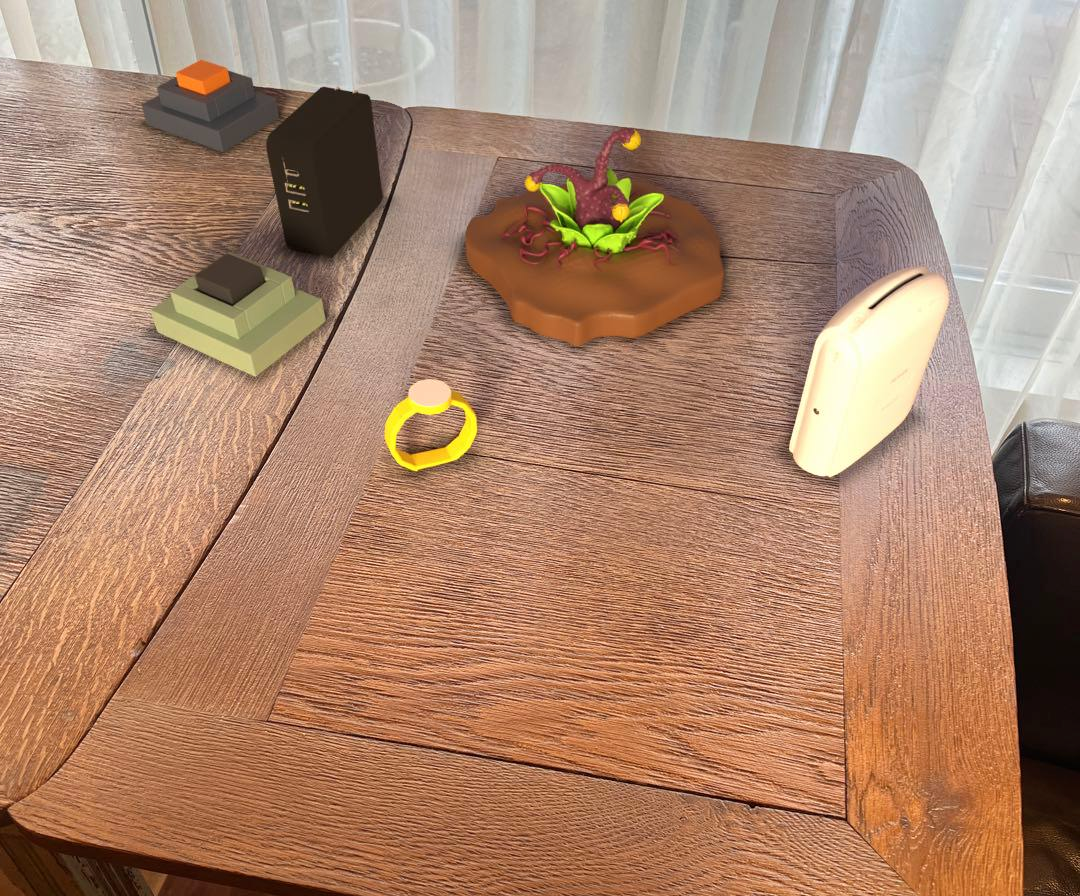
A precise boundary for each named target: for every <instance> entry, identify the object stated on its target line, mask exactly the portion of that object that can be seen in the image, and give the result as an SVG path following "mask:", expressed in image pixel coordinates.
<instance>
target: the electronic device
mask: <svg viewBox="0 0 1080 896" xmlns="http://www.w3.org/2000/svg"><path fill="white" fill-rule="evenodd" d="M373 113H374V112H373V106H372V100H371V96H370V95H369V94H367V93H362V92H359V90H358V89H354V90H353V91H351V90H345V89H341V87H340V86H336V87H335V88H333V87H330V86H329V87H328V86H321V87H320V88H318V89H317V90H316V91H315V92H313V94H311V95H310V96H309V97H308V98H307V99H306V100H305V101H304V102H303V103H301V104H300V105H299V106H298V107H297V108H296V109H295V110H294V111H293V112H292V113H290V115H288V116H287V117H286V118H285V119H284V120H283V121H282V122H280V123H279V124H278V125H277V126H276V127H275V128H274V129H273V130H272V131H270V132H269V134H268V136H267V137H266V142H265V146H266V153H267V159H268V164H269V169H270V174H271V179H272V183H273V188H274V193H275V198H276V202H277V208H278V212H279V218H280V223H281V226H282V231H283V236H284V237H283V238H284V242H285V244H286V247H287V248H289V249H292V250H295V251H296V250H297V251H301V252H305V253H310V254H315V255H320V256H324V257H328V258H334V257H335V256H336V255H337V254H338V253H339V252H340V251H341V249H342V248H343V247H344V245H346V244H347V243H348V241H350V239H351V238H353V236H354V235H355V233H357V231H358V230H359V229H360V228H361V227H362V226H363V224H364V223H365V222H366V221H367V220H368V219H369V218H370V216H371V215H372V214H373V213H374V212H375V211H376V210H377V209H378V207H379V206H380V205H381V203H382V200H383V187H382V179H381V172H380V163H379V162H380V161H379V155H378V147H377V139H376V131H375V130H376V129H375V123H374V121H375V120H374V114H373Z"/></svg>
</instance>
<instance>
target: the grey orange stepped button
mask: <svg viewBox="0 0 1080 896" xmlns="http://www.w3.org/2000/svg"><path fill="white" fill-rule="evenodd" d="M228 73H229V78H230V82H229V83H228V84H226V85H224V86H222V87H220V88H219V89H217V90H215V91H213V92H211V93H209V94H208V95H206V96H204V95H201V94H198V93H195V92H192V91H189V90H186V89H183V88H180V87H179V84H178V80H177V77H176V76H175V77H173V78H172V79H170V80H167V81H166V82H164V83H161V84H159V85H158V86H156V91H157V96H154V97H153V98H151V99H148V100H147V101H145V102H143V103H142V104H141V108H142V109H141V110H142V112H143V115H144V119H145V121H146V125H147V126H150V127H152V128H156V129H158V130H161V131H163V132H166V133H169V134H171V135H175V136H177V137H179V138H183V139H185V140H189V141H191V142H194V143H196V144H200V145H202V146H205V147H208V148H211V149H213V150H216V151H219V152H221V153H225V152H226V151H227V150H229V149H230V148H233V147H234V146H235V145H237V144H239V143H241V142H242V141H244V140H246V139H247V138H249V137H250V136H252V135H254V134H255V133H257V132H259V131H261V130H262V129H264V128H265V127H267V126H269V125H271V124H272V123H274V122H276V121H277V120H279V119H280V113H279V108H278V102H277V98H276V97H274V96H271V95H268V94H266V93H262V92H259V91H256V90H255V86H254V82H253V78H252V77H250V76H246V75H243V74H241V73H238V72H235V71H232V70H228Z"/></svg>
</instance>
